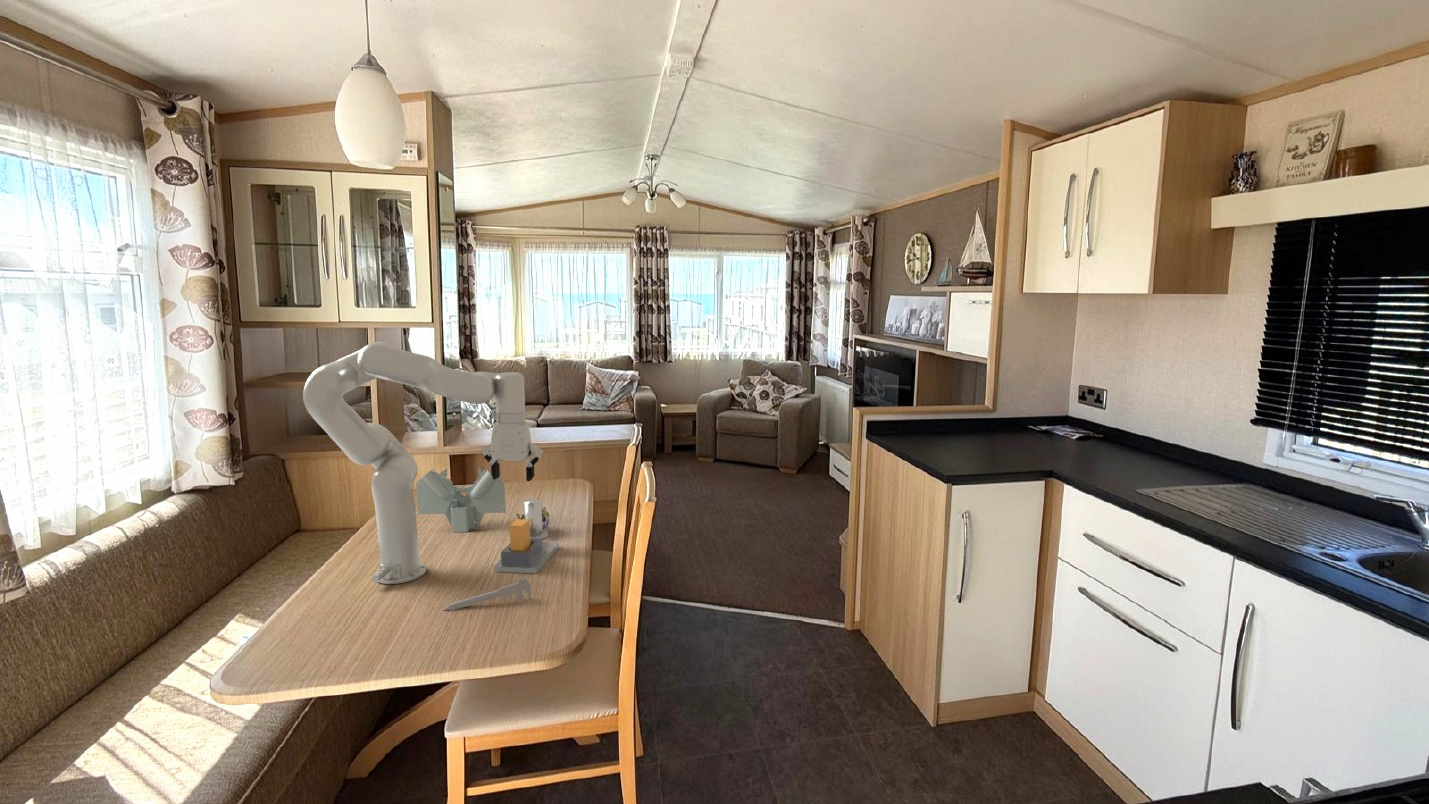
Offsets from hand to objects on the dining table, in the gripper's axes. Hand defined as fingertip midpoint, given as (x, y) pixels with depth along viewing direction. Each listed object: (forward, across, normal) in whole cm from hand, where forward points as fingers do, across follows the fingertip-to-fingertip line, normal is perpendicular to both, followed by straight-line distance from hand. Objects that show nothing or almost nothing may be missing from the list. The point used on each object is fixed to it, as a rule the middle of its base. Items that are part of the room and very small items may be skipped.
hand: (513, 479), depth 185 cm
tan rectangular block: (+23, +2, -1) cm, 23 cm away
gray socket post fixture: (+24, +2, +3) cm, 25 cm away
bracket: (+25, -28, +25) cm, 45 cm away
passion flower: (+25, -4, +23) cm, 34 cm away
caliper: (+25, +4, -25) cm, 35 cm away
